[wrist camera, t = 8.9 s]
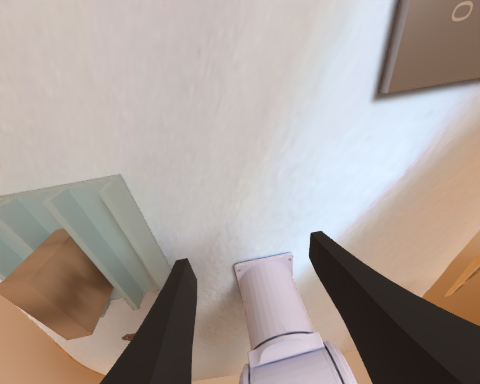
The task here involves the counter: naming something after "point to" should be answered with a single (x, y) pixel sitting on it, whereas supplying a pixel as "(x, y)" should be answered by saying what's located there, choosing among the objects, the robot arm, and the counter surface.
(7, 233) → the notched rack
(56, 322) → the tan wooden slab
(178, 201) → the counter surface
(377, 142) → the counter surface
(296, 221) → the counter surface
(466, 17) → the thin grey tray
